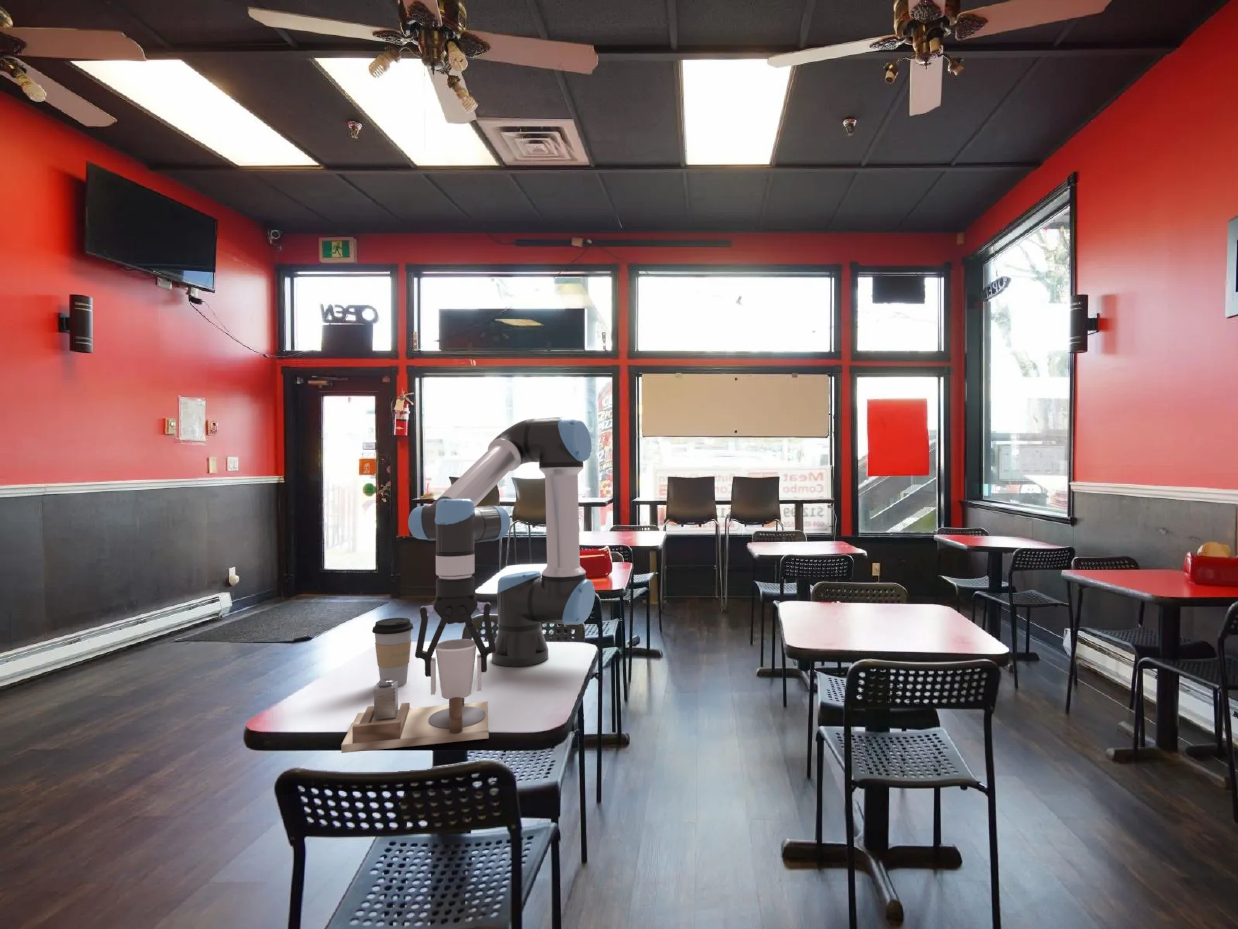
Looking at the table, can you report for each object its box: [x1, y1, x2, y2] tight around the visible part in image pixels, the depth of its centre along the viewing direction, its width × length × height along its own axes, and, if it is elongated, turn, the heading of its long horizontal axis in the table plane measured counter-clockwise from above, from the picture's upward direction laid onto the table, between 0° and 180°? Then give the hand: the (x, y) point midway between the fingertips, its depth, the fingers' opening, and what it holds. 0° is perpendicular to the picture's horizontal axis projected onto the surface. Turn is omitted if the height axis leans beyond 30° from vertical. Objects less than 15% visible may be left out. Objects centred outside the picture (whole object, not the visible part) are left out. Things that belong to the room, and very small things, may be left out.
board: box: [340, 697, 490, 754], centre depth 126 cm, size 26×16×8 cm, turn 102°
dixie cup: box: [435, 638, 477, 700], centre depth 128 cm, size 8×8×10 cm
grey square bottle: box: [373, 679, 399, 720], centre depth 129 cm, size 4×4×7 cm
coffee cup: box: [371, 617, 414, 687], centre depth 155 cm, size 9×9×15 cm
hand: (456, 690), depth 128 cm, fingers closed on dixie cup, 8 cm apart
